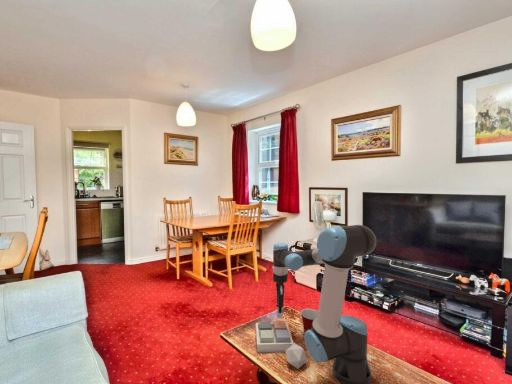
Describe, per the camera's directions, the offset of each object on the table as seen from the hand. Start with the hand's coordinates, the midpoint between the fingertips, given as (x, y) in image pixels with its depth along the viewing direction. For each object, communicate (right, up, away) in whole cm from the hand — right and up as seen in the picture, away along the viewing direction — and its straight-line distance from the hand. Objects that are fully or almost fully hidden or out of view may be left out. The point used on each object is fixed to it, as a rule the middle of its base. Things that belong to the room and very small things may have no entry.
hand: (279, 317), depth 147 cm
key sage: (-7, -6, -9) cm, 13 cm away
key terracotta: (0, -6, 0) cm, 6 cm away
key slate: (0, -6, -9) cm, 11 cm away
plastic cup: (+16, -10, 0) cm, 19 cm away
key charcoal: (-8, -6, 0) cm, 9 cm away
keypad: (-4, -9, -5) cm, 11 cm away
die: (+5, -10, -23) cm, 26 cm away
